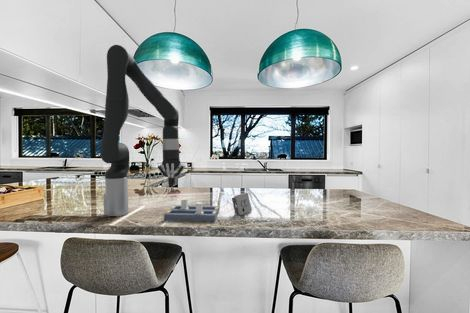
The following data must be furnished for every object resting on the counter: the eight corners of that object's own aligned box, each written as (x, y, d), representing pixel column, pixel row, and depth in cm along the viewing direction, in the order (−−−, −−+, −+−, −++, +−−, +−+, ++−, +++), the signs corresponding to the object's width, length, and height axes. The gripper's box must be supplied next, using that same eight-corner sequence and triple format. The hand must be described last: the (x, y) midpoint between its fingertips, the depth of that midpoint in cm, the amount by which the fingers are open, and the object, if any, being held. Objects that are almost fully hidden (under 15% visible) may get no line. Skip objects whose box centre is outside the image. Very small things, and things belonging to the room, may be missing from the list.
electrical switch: (240, 216, 104) (239, 195, 104) (231, 215, 107) (230, 195, 107) (252, 211, 111) (250, 192, 111) (243, 210, 115) (242, 192, 115)
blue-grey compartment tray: (164, 220, 98) (164, 213, 98) (174, 210, 112) (174, 205, 112) (214, 221, 97) (214, 214, 97) (219, 211, 111) (219, 205, 111)
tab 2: (194, 216, 100) (194, 203, 99) (196, 213, 103) (196, 201, 103) (202, 216, 99) (202, 204, 99) (203, 214, 103) (203, 202, 102)
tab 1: (179, 211, 107) (179, 199, 106) (182, 209, 110) (181, 198, 110) (187, 211, 106) (186, 200, 106) (188, 209, 110) (188, 198, 109)
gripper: (153, 149, 103) (154, 187, 104) (182, 148, 103) (183, 187, 103) (160, 148, 111) (161, 184, 112) (187, 148, 110) (187, 184, 111)
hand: (171, 185), depth 108 cm, fingers closed
